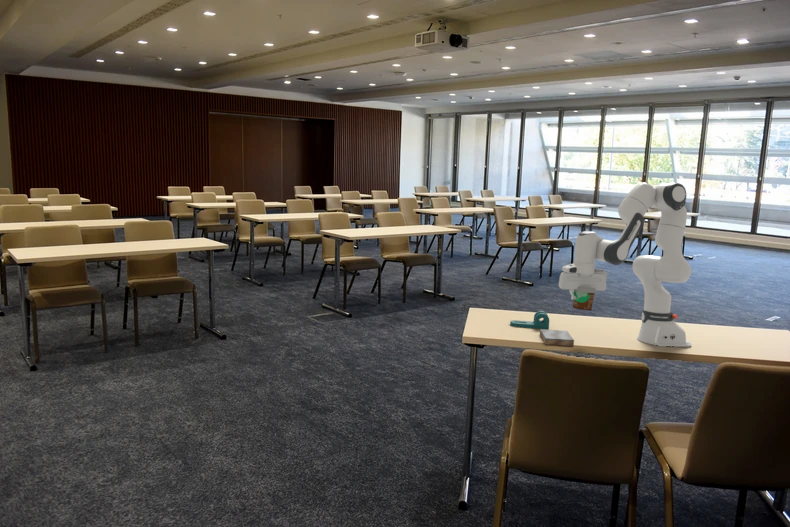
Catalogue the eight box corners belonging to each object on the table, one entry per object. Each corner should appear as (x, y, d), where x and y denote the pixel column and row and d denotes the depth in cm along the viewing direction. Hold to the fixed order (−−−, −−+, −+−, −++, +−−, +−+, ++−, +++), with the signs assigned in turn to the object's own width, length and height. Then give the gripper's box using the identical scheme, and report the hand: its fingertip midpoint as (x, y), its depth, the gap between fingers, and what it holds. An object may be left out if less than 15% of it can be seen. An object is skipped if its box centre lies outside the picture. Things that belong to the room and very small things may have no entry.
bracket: (547, 327, 297) (548, 311, 295) (548, 330, 290) (549, 314, 289) (509, 324, 299) (511, 308, 298) (510, 327, 293) (511, 311, 292)
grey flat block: (566, 337, 278) (566, 330, 277) (573, 346, 262) (574, 339, 262) (539, 335, 279) (540, 329, 278) (545, 345, 263) (545, 338, 263)
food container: (564, 305, 270) (566, 283, 269) (575, 305, 273) (578, 283, 271) (581, 311, 259) (584, 288, 258) (593, 311, 261) (596, 288, 260)
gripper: (604, 268, 267) (601, 299, 269) (558, 266, 266) (556, 297, 268) (610, 270, 261) (607, 302, 263) (563, 268, 260) (560, 300, 262)
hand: (581, 299), depth 265 cm, fingers closed on food container, 5 cm apart
